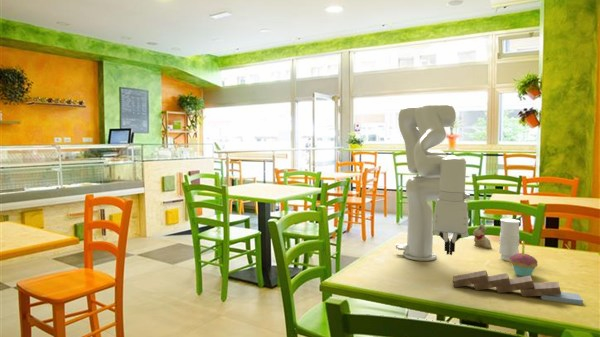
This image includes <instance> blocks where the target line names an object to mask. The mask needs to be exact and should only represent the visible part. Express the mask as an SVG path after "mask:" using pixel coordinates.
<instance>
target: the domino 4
mask: <svg viewBox="0 0 600 337" xmlns="http://www.w3.org/2000/svg"><path fill="white" fill-rule="evenodd" d="M533 284H534V287H535V288H528V289H522V290H519V292H520V295H521V297H524V298H525V297H537V296H539V297H540V296H542V295H560V294H561V292H562V291H561V285H560V283H559V281H548V282H547V281H546V282H533Z"/></svg>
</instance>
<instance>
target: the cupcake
mask: <svg viewBox="0 0 600 337" xmlns="http://www.w3.org/2000/svg"><path fill="white" fill-rule="evenodd" d="M521 246H522V248H521V251H522V252H521V253H519V254H514V255H513V256H511V257H510V260H509V261H508V263H510V264H511V265H512V267H513V270H514V273H515V275H517V276H519V277H525V276H531V277H532V274H533V272H534V270H535V268H537V267H538V259H536V258H535V257H534V256H532V255H530V254H528V253H525V241H524V240H523V241H522V245H521Z"/></svg>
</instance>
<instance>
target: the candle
mask: <svg viewBox="0 0 600 337" xmlns="http://www.w3.org/2000/svg"><path fill="white" fill-rule="evenodd" d="M520 223H521V221H520V220H519V219H514V218H500V233H499V240H498V241H499V242H498V243H499V249H498V254H500V256H499V258H500V260H503V261H508V262H509V260H510V257H511V256H513V255H514V254H519V247H520Z"/></svg>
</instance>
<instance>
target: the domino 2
mask: <svg viewBox="0 0 600 337" xmlns="http://www.w3.org/2000/svg"><path fill="white" fill-rule="evenodd" d="M509 279H510V277H509V275H508V272H506V273H500V274H494V275H490V276H489V275H488V282H483V283H477V284H472V285H473V288H474V290H475V291H481V290H486V289H492V288H496V287H499V286H505V285H510V280H509Z"/></svg>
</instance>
